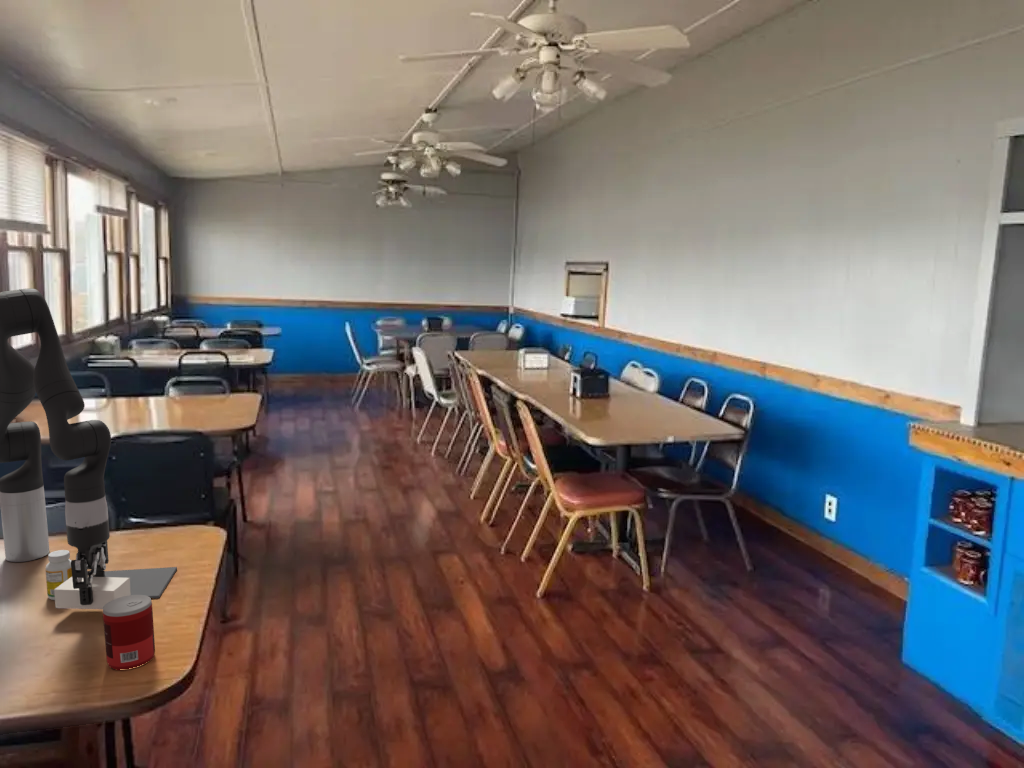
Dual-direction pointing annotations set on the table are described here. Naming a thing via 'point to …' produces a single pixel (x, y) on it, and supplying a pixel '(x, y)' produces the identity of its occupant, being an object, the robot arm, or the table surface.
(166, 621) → the table surface
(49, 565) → the supplement bottle
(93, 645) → the table surface
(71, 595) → the riser block
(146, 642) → the canned food
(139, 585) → the mat
